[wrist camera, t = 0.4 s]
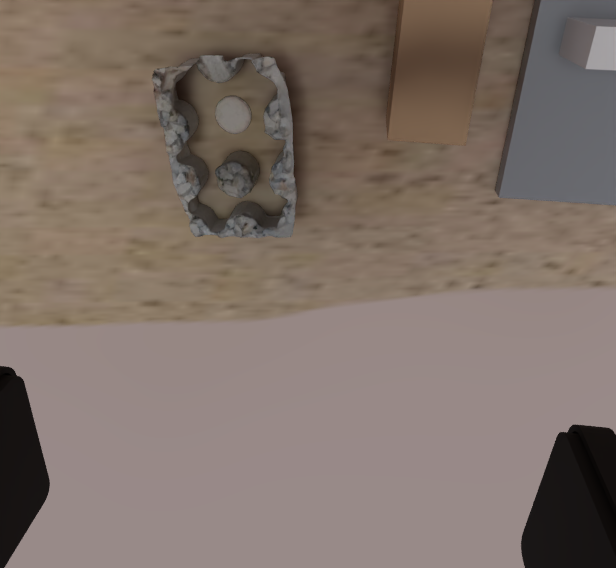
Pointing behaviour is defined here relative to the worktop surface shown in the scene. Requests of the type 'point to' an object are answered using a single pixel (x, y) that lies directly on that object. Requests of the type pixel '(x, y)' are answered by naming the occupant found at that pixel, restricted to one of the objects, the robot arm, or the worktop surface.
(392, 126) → the beam
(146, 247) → the worktop surface
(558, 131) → the fulcrum board
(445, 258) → the worktop surface
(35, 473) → the robot arm
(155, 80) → the egg carton
